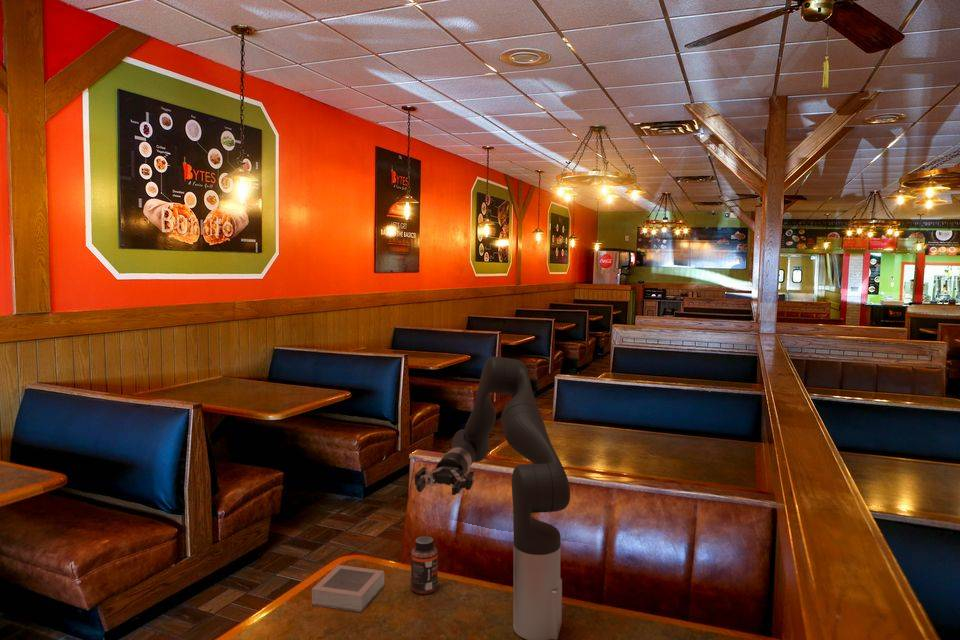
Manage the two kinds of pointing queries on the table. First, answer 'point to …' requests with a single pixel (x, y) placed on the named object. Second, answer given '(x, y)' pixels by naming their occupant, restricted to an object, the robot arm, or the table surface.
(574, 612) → the table surface
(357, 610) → the square holder
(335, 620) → the table surface
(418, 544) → the supplement bottle
